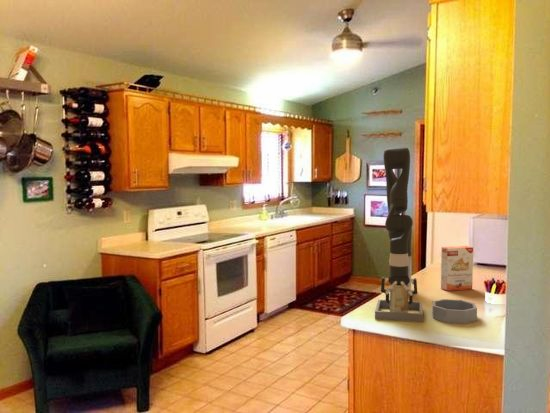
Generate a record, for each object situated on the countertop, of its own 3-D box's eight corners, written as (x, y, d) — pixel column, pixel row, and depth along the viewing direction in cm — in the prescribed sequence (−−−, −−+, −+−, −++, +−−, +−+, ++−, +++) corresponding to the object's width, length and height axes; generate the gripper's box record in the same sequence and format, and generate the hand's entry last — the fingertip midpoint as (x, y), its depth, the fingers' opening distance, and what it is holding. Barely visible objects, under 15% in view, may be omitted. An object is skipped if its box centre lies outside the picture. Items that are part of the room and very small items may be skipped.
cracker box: (447, 291, 227) (447, 248, 226) (440, 288, 233) (440, 246, 232) (473, 289, 230) (473, 246, 229) (466, 286, 236) (466, 245, 235)
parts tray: (378, 306, 204) (378, 299, 204) (421, 309, 199) (421, 302, 199) (374, 318, 187) (374, 311, 187) (422, 322, 182) (422, 314, 182)
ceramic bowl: (431, 310, 197) (431, 298, 197) (473, 312, 192) (473, 300, 192) (433, 321, 182) (433, 309, 181) (478, 324, 177) (478, 311, 177)
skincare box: (394, 316, 190) (394, 286, 189) (389, 313, 194) (389, 283, 193) (409, 314, 192) (409, 284, 191) (403, 311, 196) (403, 282, 195)
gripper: (417, 262, 193) (417, 302, 194) (381, 261, 197) (381, 300, 198) (417, 266, 186) (417, 307, 187) (380, 265, 190) (380, 304, 191)
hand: (399, 303), depth 193 cm, fingers open, 8 cm apart
